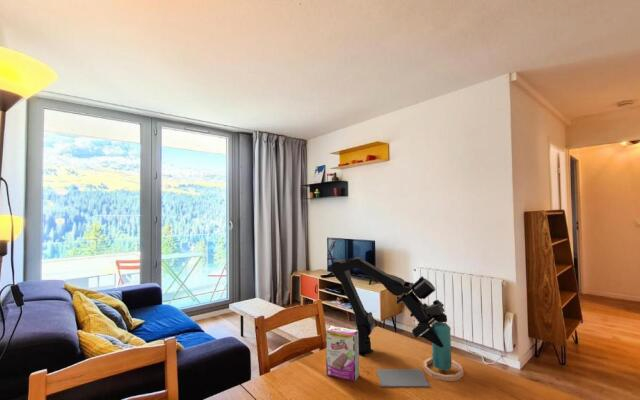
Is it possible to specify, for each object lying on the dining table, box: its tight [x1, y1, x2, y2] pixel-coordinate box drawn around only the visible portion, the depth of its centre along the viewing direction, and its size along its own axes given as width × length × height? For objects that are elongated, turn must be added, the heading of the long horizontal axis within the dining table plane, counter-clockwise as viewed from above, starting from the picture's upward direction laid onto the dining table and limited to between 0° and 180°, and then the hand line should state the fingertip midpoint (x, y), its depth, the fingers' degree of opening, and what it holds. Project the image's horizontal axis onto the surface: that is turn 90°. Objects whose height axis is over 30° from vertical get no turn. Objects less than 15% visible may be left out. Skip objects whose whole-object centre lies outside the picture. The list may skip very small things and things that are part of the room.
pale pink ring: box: [423, 357, 464, 382], centre depth 109 cm, size 13×14×2 cm
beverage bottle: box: [431, 313, 453, 371], centre depth 110 cm, size 6×7×20 cm
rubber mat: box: [376, 368, 431, 388], centre depth 105 cm, size 16×10×1 cm, turn 87°
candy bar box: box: [325, 325, 360, 383], centre depth 108 cm, size 11×5×16 cm, turn 65°
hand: (445, 343), depth 109 cm, fingers closed on beverage bottle, 6 cm apart
